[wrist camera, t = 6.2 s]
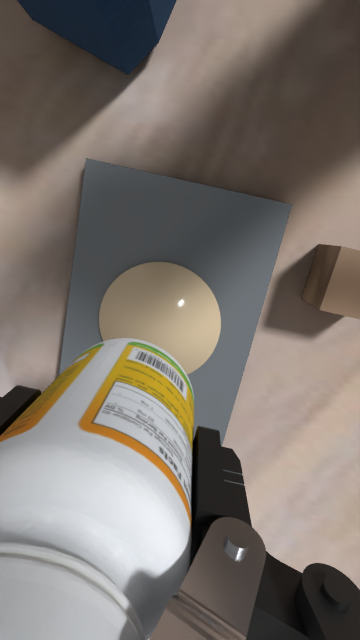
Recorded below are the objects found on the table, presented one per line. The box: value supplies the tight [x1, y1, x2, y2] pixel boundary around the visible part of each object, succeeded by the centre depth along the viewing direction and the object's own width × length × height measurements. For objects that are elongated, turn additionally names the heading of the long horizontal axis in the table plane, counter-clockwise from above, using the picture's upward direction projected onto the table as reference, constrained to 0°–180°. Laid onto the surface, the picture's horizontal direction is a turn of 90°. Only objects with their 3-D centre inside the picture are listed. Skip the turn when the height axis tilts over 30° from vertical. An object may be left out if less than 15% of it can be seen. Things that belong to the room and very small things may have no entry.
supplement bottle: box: [0, 338, 194, 640], centre depth 9 cm, size 5×5×10 cm
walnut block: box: [301, 244, 360, 319], centre depth 22 cm, size 4×4×4 cm
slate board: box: [59, 158, 292, 447], centre depth 25 cm, size 20×14×1 cm
